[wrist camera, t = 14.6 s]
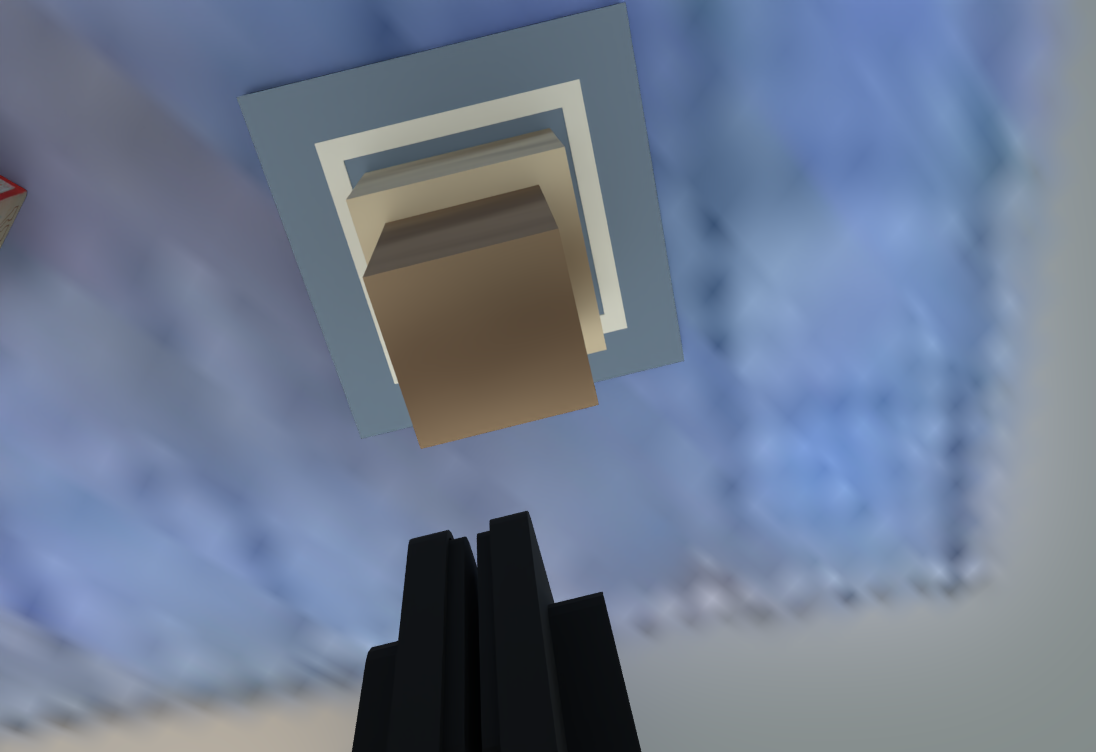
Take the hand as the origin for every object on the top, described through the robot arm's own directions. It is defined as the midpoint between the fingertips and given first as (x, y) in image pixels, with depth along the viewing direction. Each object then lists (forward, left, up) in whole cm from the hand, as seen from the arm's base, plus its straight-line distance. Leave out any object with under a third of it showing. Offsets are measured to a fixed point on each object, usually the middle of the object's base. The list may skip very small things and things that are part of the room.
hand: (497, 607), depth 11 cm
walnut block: (0, 0, -17) cm, 17 cm away
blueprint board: (0, 0, -23) cm, 23 cm away
